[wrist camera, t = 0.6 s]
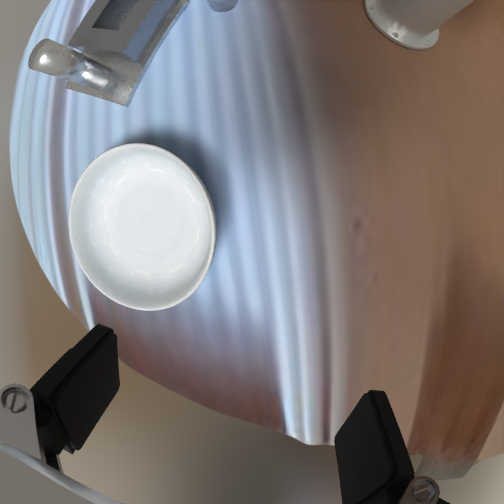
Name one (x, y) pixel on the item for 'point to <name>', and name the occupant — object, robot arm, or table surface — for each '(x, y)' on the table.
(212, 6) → the gold and grey cylinder
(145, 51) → the grey block stand
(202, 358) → the table surface
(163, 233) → the serving bowl
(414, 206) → the table surface
